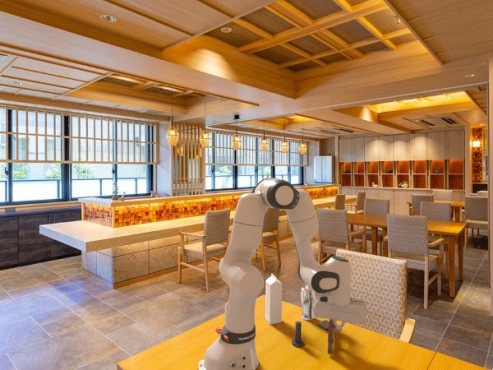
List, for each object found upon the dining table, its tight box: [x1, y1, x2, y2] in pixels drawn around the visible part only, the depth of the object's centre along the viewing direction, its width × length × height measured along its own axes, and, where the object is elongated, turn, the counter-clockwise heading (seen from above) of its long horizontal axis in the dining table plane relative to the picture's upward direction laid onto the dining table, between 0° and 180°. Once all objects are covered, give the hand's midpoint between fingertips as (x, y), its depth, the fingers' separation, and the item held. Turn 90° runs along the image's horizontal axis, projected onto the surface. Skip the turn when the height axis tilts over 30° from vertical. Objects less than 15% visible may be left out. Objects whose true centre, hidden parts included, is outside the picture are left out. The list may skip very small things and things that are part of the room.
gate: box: [327, 319, 336, 355], centre depth 137 cm, size 20×3×10 cm, turn 164°
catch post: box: [291, 320, 305, 348], centre depth 136 cm, size 5×5×9 cm
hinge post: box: [316, 319, 336, 331], centre depth 150 cm, size 6×8×11 cm
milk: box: [264, 272, 283, 325], centre depth 155 cm, size 6×6×22 cm
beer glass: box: [300, 284, 316, 322], centre depth 159 cm, size 7×7×15 cm
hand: (338, 330), depth 133 cm, fingers closed
